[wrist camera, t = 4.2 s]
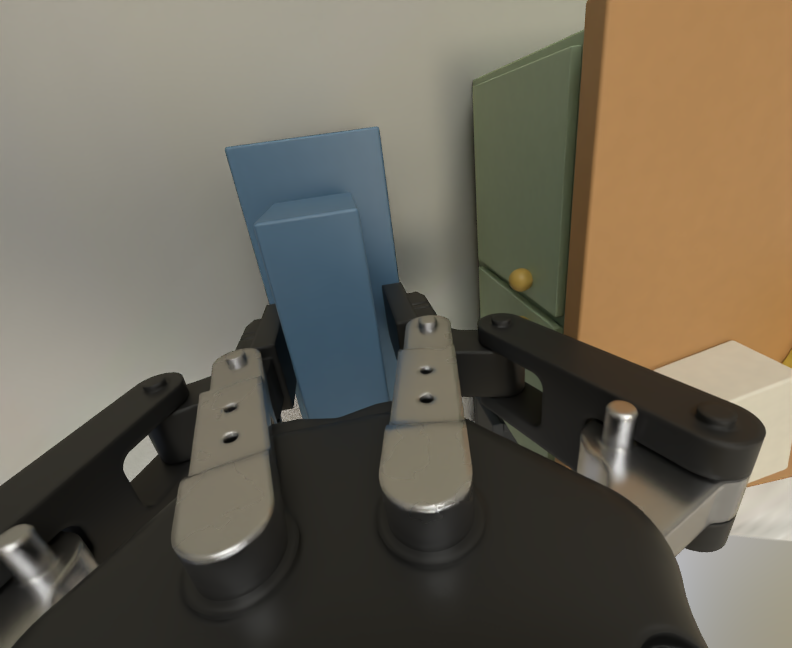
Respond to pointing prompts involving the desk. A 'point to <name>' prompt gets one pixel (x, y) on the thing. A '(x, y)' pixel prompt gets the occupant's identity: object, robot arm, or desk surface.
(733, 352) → the scrap white
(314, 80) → the desk surface
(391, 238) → the brush
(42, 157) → the desk surface
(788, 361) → the scrap yellow
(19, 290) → the desk surface
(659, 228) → the cabinet
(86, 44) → the desk surface
